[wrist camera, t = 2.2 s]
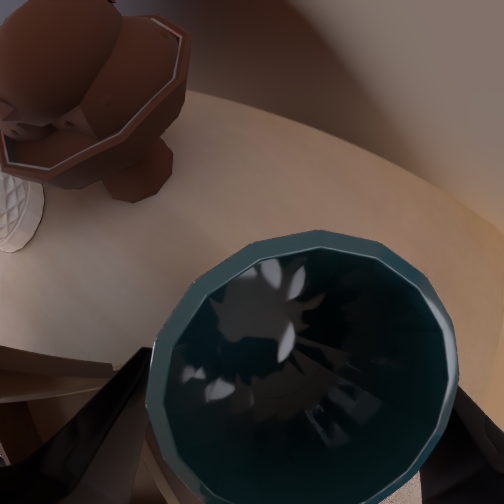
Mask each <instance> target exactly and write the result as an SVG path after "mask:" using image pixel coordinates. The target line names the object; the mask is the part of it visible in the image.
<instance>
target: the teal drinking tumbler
mask: <svg viewBox="0 0 504 504" xmlns="http://www.w3.org/2000/svg"><path fill="white" fill-rule="evenodd" d="M458 381H459V365H458V356H457V347H456V339H455V332H454V326H453V324H452V320H451V318H450V317H449V315H448V313H447V311H446V309H445V307H444V306H443V304H442V302H441V300H440V299H439V297H438V295H437V293H436V292H435V290H434V288H433V287H432V285H431V283H430V282H429V280H428V278H427V277H425V275H424V274H423V273H421V272H420V271H419V270H417V269H416V268H415V267H413V266H412V265H411V264H409V263H408V262H407V261H405V260H404V259H403V258H401V257H400V256H398V255H397V254H396V253H394V252H393V251H391V250H390V249H389V248H387V247H386V246H384V245H383V244H381V243H379V242H377V241H372V240H367V239H363V238H358V237H354V236H349V235H344V234H339V233H335V232H330V231H325V230H312V231H307V232H302V233H297V234H292V235H287V236H282V237H277V238H272V239H267V240H262V241H257V242H254V243H253V244H252V243H251V244H249V245H247V246H246V247H244V248H243V249H241V250H240V251H238V252H237V253H235V254H234V255H232V256H231V257H229V258H228V259H226V260H225V261H223V262H222V263H220V264H219V265H217V266H216V267H214V268H213V269H211V270H210V271H208V272H207V273H205V274H203V275H202V276H200V277H199V278H197V279H196V280H195V281H194V283H192V284H191V285H190V287H189V288H188V290H187V291H186V293H185V294H184V296H183V297H182V299H181V300H180V302H179V303H178V305H177V306H176V308H175V309H174V311H173V312H172V314H171V315H170V317H169V318H168V320H167V321H166V323H165V324H164V326H163V327H162V329H161V330H160V332H159V333H158V335H157V336H156V340H155V341H154V346H153V352H152V358H151V364H150V371H149V377H148V384H147V391H146V398H145V402H146V408H147V412H148V415H149V419H150V422H151V425H152V429H153V432H154V435H155V438H156V441H157V444H158V447H159V450H160V453H161V456H162V459H163V460H164V462H165V463H166V465H167V466H168V467H169V468H170V469H171V470H172V471H173V472H174V474H175V475H176V476H177V477H178V478H179V479H180V480H181V481H182V482H183V483H184V484H185V486H186V487H187V488H188V489H189V490H190V491H191V492H192V493H193V494H194V495H195V496H196V497H197V498H198V499H199V500H200V501H201V502H203V503H204V504H378V503H380V502H381V501H383V500H384V499H385V498H387V497H388V496H390V495H391V494H392V493H394V492H395V491H396V490H398V489H399V488H400V487H401V486H403V485H404V484H405V483H406V482H408V481H409V480H410V479H411V478H412V477H413V476H414V475H415V474H416V473H417V472H418V470H419V469H420V468H421V466H422V465H423V464H424V462H425V461H426V459H427V458H428V457H429V455H430V454H431V452H432V451H433V449H434V448H435V446H436V445H437V443H438V441H439V440H440V438H441V437H442V435H443V434H444V432H445V429H446V428H447V424H448V421H449V418H450V414H451V410H452V407H453V403H454V399H455V395H456V390H457V386H458Z"/></svg>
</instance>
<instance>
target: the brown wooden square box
mask: <svg viewBox="0 0 504 504" xmlns="http://www.w3.org/2000/svg"><path fill="white" fill-rule="evenodd" d="M122 366H123V365H120V366H116V367H113V371H114V374H115V373H116V372H117V371H118V370H119V369H120V368H121V367H122ZM108 381H109V380H106V381H102V382H97V383H92V384H88V385H83V386H78V387H72V388H67V389H61V390H56V391H50V392H44V393H37V394H30V395H23V396H16V397H7V398H0V453H1V455H2V457H3V459H4V461H5V463H6V465H12V464H15V463H18V462H20V461H22V460H24V459H25V458H26V457H28V456H29V455H30V454H32V453H33V452H34V451H35V450H37V449H38V448H39V447H40V446H42V445H43V444H44V443H45V442H47V441H48V440H49V439H50V438H51V437H53V436H54V435H55V434H56V433H57V432H58V431H59V430H60V429H61V428H62V427H63V426H65V425H66V424H67V423H68V422H69V421H70V419H71V418H72V417H73V416H75V415H76V413H77V412H78V411H79V410H80V409H81V408H82V407H83V406H84V405H85V404H86V403H87V402H88V401H89V400H90V399H91V398H92V397H93V396H94V395H95V394H96V393H97V392H98V391H99V390H100V389H101V388H102V387H103V386H104V385H105V384H106V383H107V382H108ZM129 504H204V503H203V502H201V501H200V500H199V499H198V498H197V497H196V496H195V495H194V494H193V493H192V492H191V491H190V490H189V489H188V488H187V487H186V486H185V484H184V483H183V482H182V481H181V480H180V479H179V478H178V477H177V476H176V475H175V474H174V472H173V471H172V470H171V469H170V468H169V467H168V466H167V465H166V463H165V462H164V460H163V459H162V456H161V453H160V450H159V447H158V444H157V441H156V438H155V435H154V432H153V429H152V425H151V422H150V420H149V424H148V428H147V431H146V435H145V439H144V443H143V447H142V451H141V455H140V459H139V463H138V467H137V471H136V476H135V480H134V484H133V489H132V493H131V498H130V502H129Z"/></svg>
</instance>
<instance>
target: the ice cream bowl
mask: <svg viewBox="0 0 504 504" xmlns="http://www.w3.org/2000/svg"><path fill="white" fill-rule="evenodd" d="M112 3H116V2H115V0H28V1H27V2H25V3H24V4H23V5H22V6H21V7H19V8H18V9H17V10H16V11H15V12H13V13H12V14H11V15H10V16H9V17H7V18H6V19H5V21H4V22H3V24H2V26H1V27H0V166H1V171H2V172H3V173H6V174H9V175H12V176H14V177H17V178H20V179H22V180H27V181H31V182H36V183H41V184H45V185H50V186H54V187H59V188H63V189H82V188H84V187H86V186H88V185H90V184H92V183H94V182H96V181H98V180H100V179H102V180H103V183H104V185H105V186H106V188H107V190H108V191H109V193H110V195H111V196H112V198H113V199H117V200H121V201H125V202H130V203H135V202H138V201H140V200H142V199H145V198H147V197H150V196H152V195H155V194H157V192H158V191H159V190H160V188H161V187H162V186H163V184H164V183H165V182H166V181H167V179H168V178H169V177H170V176H171V174H172V163H173V152H172V151H171V150H170V149H169V147H168V146H167V145H166V144H165V143H164V141H163V140H162V139H161V138H160V136H161V134H162V133H163V132H164V131H165V130H166V129H167V128H168V127H169V126H170V125H171V123H172V122H173V121H174V120H175V119H176V118H177V117H178V116H179V113H180V111H181V108H182V106H183V104H184V101H185V92H186V83H187V75H188V67H189V59H190V47H191V36H192V34H191V33H190V32H188V31H186V30H185V29H183V28H181V27H180V26H178V25H176V24H175V23H173V22H171V21H170V20H168V19H166V18H164V17H163V16H161V15H159V14H157V15H141V16H130V17H129V16H121V14H120V13H119V11H118V10H117V9H116V8H115V7H114V5H113V4H112Z"/></svg>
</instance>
